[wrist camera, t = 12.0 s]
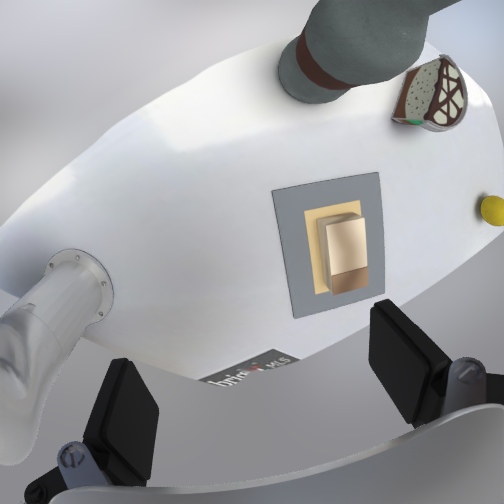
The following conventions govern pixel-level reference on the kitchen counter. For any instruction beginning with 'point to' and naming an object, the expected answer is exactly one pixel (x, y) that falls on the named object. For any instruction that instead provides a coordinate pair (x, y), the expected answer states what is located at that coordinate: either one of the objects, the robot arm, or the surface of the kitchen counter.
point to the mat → (307, 240)
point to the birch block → (343, 252)
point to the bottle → (354, 45)
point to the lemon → (493, 210)
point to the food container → (432, 96)
